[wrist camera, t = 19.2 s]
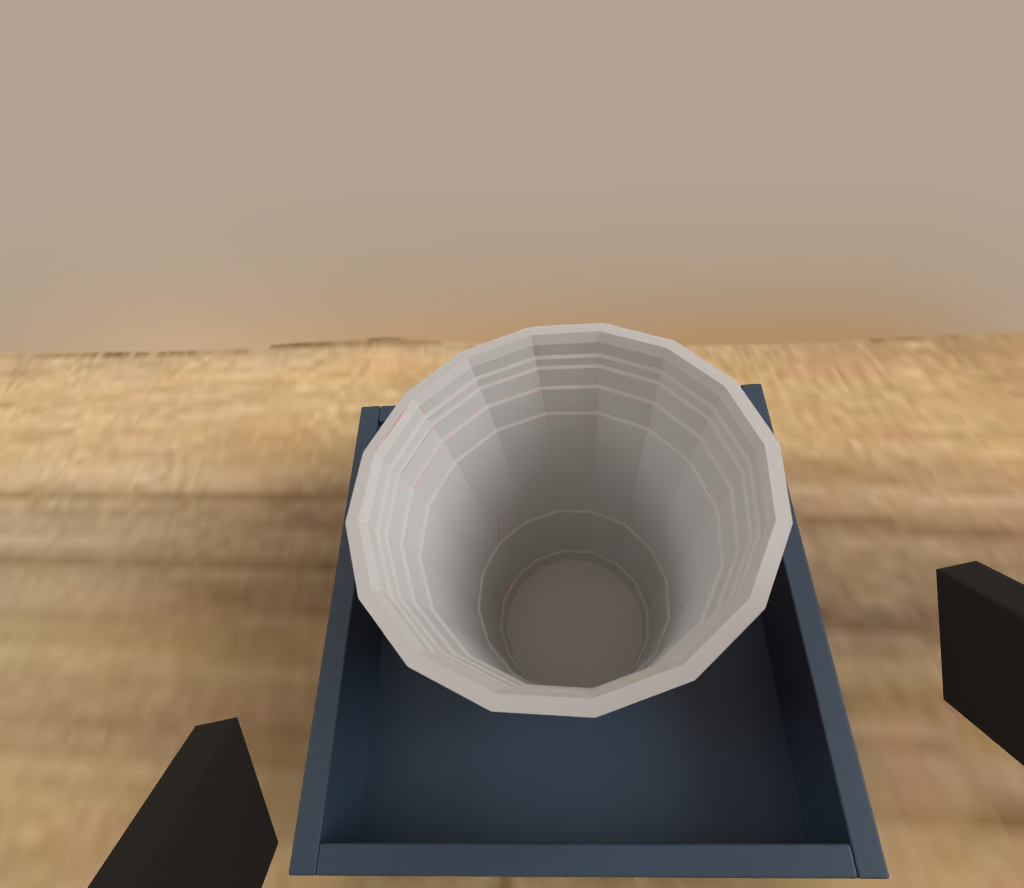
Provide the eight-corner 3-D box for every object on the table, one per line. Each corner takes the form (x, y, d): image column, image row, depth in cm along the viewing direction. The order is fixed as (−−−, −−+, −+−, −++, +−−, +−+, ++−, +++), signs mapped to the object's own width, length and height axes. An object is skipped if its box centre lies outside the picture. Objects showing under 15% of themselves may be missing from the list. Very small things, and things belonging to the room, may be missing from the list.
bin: (341, 870, 22) (287, 875, 18) (390, 463, 31) (361, 406, 27) (832, 873, 21) (890, 879, 17) (737, 446, 30) (761, 383, 26)
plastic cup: (481, 480, 29) (424, 287, 19) (724, 531, 27) (805, 340, 17) (394, 727, 24) (253, 638, 14) (687, 818, 22) (773, 791, 11)
